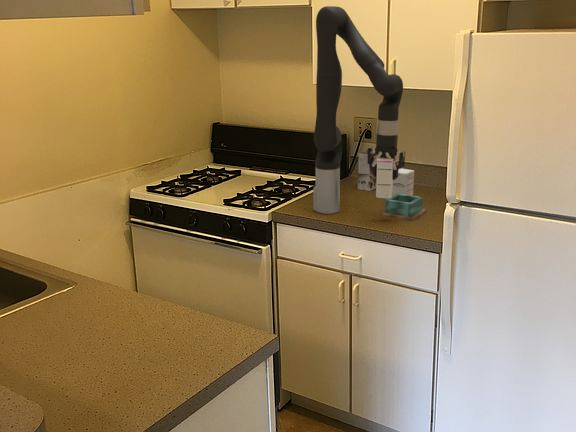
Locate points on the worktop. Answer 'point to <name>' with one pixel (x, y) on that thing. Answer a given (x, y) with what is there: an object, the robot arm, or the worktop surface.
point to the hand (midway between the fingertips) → (384, 177)
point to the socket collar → (404, 207)
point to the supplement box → (404, 182)
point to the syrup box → (384, 178)
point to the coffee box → (366, 172)
